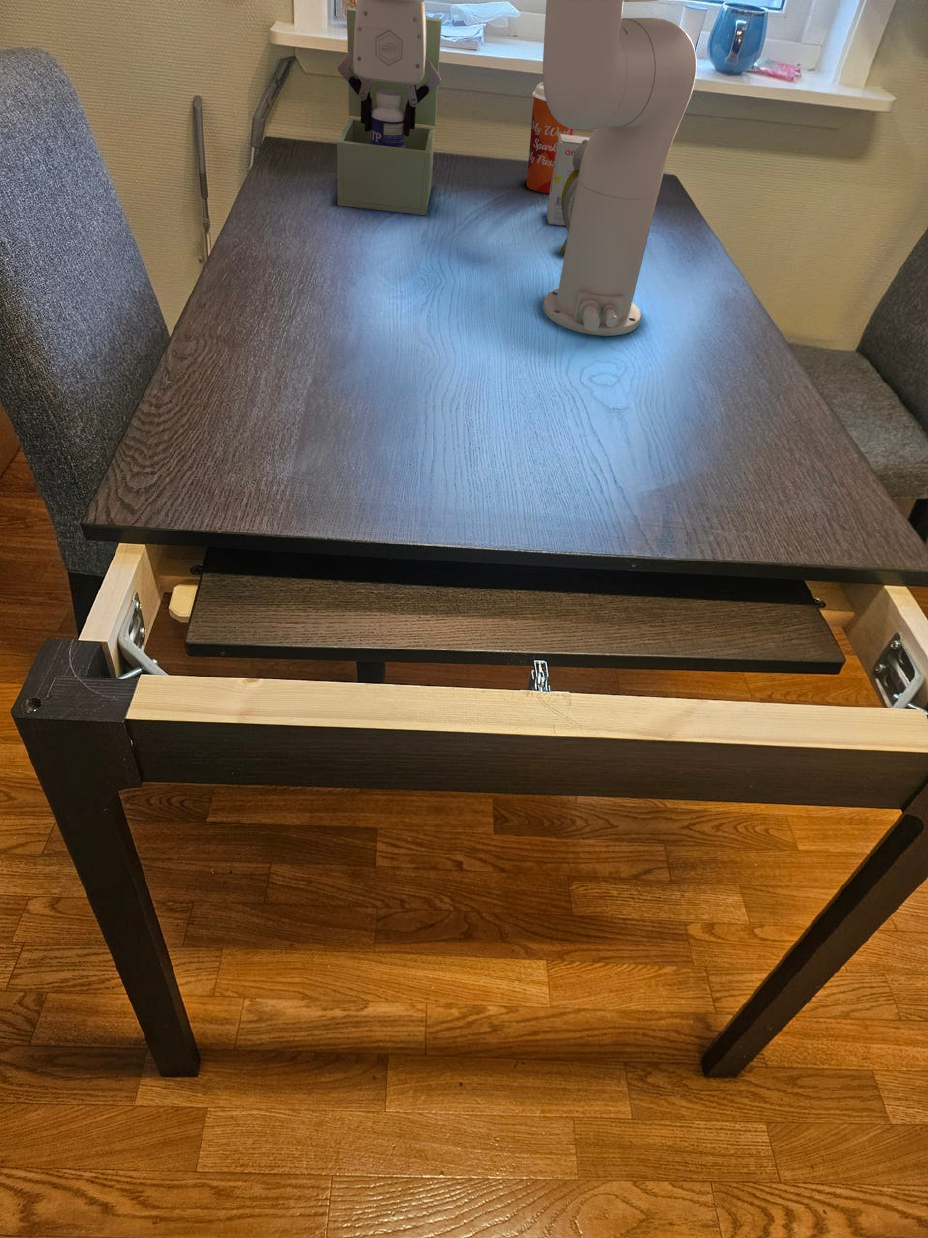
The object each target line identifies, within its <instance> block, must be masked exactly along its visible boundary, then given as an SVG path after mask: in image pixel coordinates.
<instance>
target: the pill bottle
mask: <svg viewBox="0 0 928 1238" xmlns="http://www.w3.org/2000/svg"><path fill="white" fill-rule="evenodd" d="M402 101H403V94H402V93H401V92H400V91H397V90H392V89H378V90H376V93H375V102H376V103H377V106H375V107H373V108H372V110H371V120H370V144H372V145H381V146H389V147H398V148H404V144H405V135H404V130H405V112H404V110H403V109H401V108H400V106H401V105H402Z"/></svg>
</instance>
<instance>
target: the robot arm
mask: <svg viewBox="0 0 928 1238" xmlns="http://www.w3.org/2000/svg"><path fill="white" fill-rule="evenodd" d="M425 1H426V0H357V3H356V7H355V8H356V18H355V31H354V47H353V48H352V50H351V51H350V52H349V53H348V52H347V55H346V56H345V57H344V58H343V59H342V61H341V62H340V63H339V64H338V66H337V72H338V73H339V74H340V75H341V76H342V77H343V79H344V80H345V81H346V82H347V83H348V82H349V84H350V86H351V87H352V88H353V90H354V91H355V92H356V93H357V95H358V96H359V99H360V100H361V117H360V119H361V123H364V124H365V132H368V131H370V120H371V110H372V98H371V97H370V92H369V91H370V88H371V85H372V81H373V80H374V81H381V82H390V83H398V84H405V86H406V90H407V95H408V101H407V104H406V108H405V130H404V135H406V136H407V137H409V135H410V129H415V126H416V124H415V117H416V105H417V104H418V103H419V102H420V101H421V100H422V99H423V98H424V97H425V96H426V95H427V94H428V93H429V92H430V91H432V90H433V89H434V88H436V87H437V86H439V85H440V84H441V82H442V77H441V75H440V74H438V72H437V70H436V69H435V67H434V66H433V64H432V62H431V61H430V59H429V57H428V56H427V54H426V17H427V12H426V11H427V10H426V9H427V8H426V2H425ZM658 1H659V0H546V1H545V18H544V34H543V35H544V36H543V50H542V51H543V53H542V82H543V87H544V94H545V98H546V102H547V105H548V107H549V110H550V112H551V114H552V115H553V117H554V118H555V119H556V120H557V121H558V122H559V123H560V124H562V125H563V126H565V127H567V128H570V129H574V131H575V130H576V131H586V130H587V131H589V130H593V131H592V133H591V134H590V137H589V138H590V139H589V141H588V143H587V146H586V149H585V151H584V154H583V158H582V162H581V166H580V171H579V177H578V182H577V188H576V193H575V199H574V205H573V210H572V216H571V221H570V227H569V232H568V234H567V237H568V238H567V237H566V239H567V244H566V250H565V253H564V254H563V255H564V256H563V261H562V267H561V273H560V278H559V284H558V288H556V289H553V290H551V291H550V292H548V293H547V294H546V295H545V296H544V299H543V306H542V308H543V312H544V313H545V315H546V316H547V318H549V320H551V321H552V322H554V323H555V324H557V325H559V326H561V327H563V328H565V329H568V330H570V331H573V332H577V333H581V334H584V335H585V334H586V335H590V336H599V337H600V336H601V337H613V336H621V335H625V334H628V333H631V332H633V331H634V330H636V329H637V328H638V327H639V326H640V325H641V324H640V323H641V319H642V311H641V309H640V308H639V306H637V304H636V303H635V302H633V301H634V296H635V294H636V293H635V292H636V288H637V286H638V285H637V284H638V281H639V275H640V272H641V267H642V263H643V259H644V254H645V252H646V247H647V242H648V238H649V235H650V230H651V226H652V222H653V218H654V213H655V209H656V205H657V202H658V197H659V193H660V189H661V185H662V182H663V177H664V173H665V169H666V166H667V163H668V162H667V161H668V159H669V155H670V151H671V149H672V145H673V143H674V141H675V140H674V139H675V136H676V134H677V131H678V129H679V127H680V124H681V121H682V119H683V117H684V114H685V112H686V111H687V110H686V109H687V107H688V105H689V103H690V100H691V98H692V94H693V91H694V87H695V82H696V77H697V70H698V69H697V68H698V66H697V65H698V64H697V54H696V49H695V46H694V43H693V41H692V39H691V37H690V36H689V34H688V33H687V31H685V30H684V29H683V27H681V26H679V25H678V24H677V23H675V22H672V21H670V20H668V19H663V18H657V17H623V9H624V3H643V2H644V3H646V2H647V3H649V2H658ZM352 64H353V67H354V72H355V74H356V75H357V76H358V77H360V78H363V82H361V81H360V79H359V78H358V77H357V76H356V75H355V74H354V73H353V72H352V70H351V68H350V67H351V65H352ZM425 71H426V73H427V75H428V76H429V80H428V81H427V82H425V83H424V84H423V85H422V86H421V87H419V88H418V89H417V87H416V84H418V83H420V82H421V81H422V80H423V78H424V73H425Z"/></svg>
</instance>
